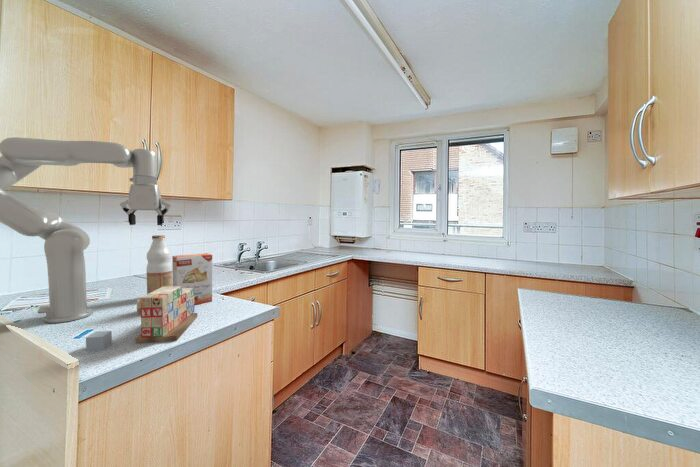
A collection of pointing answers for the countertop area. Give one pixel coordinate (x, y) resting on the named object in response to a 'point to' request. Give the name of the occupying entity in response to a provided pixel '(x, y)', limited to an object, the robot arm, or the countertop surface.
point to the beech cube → (138, 307)
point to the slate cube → (98, 340)
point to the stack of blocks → (165, 310)
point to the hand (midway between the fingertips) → (146, 224)
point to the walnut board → (171, 335)
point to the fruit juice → (158, 265)
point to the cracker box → (194, 275)
